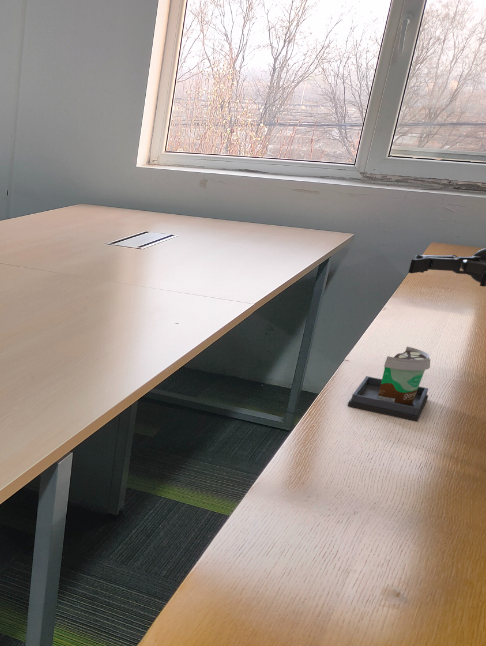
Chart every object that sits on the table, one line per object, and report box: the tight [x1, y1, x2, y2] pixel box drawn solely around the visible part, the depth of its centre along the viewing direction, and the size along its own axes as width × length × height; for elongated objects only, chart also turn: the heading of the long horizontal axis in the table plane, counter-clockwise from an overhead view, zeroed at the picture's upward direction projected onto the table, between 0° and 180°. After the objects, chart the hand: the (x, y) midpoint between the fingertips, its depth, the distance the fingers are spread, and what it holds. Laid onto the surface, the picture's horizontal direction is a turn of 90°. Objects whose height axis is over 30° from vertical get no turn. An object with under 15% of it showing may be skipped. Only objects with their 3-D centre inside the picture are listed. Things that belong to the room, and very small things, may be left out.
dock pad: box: [347, 375, 429, 422], centre depth 164 cm, size 12×16×2 cm
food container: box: [378, 346, 431, 406], centre depth 160 cm, size 12×6×10 cm, turn 133°
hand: (446, 272), depth 159 cm, fingers open, 13 cm apart
